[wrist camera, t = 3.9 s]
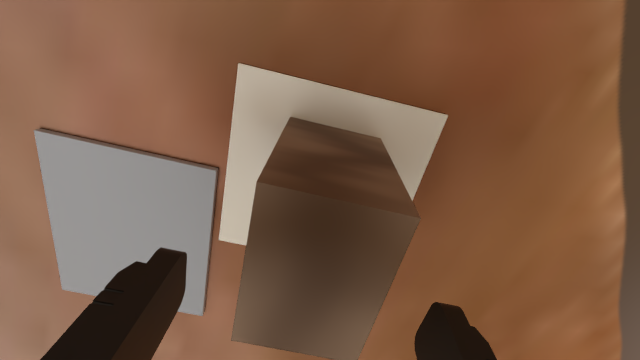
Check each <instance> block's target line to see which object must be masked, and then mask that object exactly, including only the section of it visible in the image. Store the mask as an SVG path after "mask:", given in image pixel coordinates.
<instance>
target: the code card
mask: <svg viewBox="0 0 640 360" xmlns="http://www.w3.org/2000/svg"><path fill="white" fill-rule="evenodd" d="M290 117H294V118H298V119H302V120H306V121H311V122H315V123H319V124H323V125H327V126H331V127H336V128H340V129H344V130H348V131H352V132H356V133H361V134H365V135H369V136H373V137H377V138H381V140H382V142H383V144H384V146H385V148H386V150H387V152H388V154H389V156H390V158H391V160H392V162H393V164H394V166H395V168H396V170H397V172H398V174H399V176H400V178H401V180H402V182H403V184H404V186H405V188H406V190H407V192H408V194H409V196H410V198H411V200H413V198H414V196H415V193H416V191H417V188H418V186H419V184H420V181H421V179H422V177H423V174H424V172H425V169H426V167H427V165H428V162H429V160H430V158H431V155H432V153H433V150H434V148H435V146H436V143H437V141H438V139H439V136H440V134H441V131H442V129H443V127H444V124H445V122H446V120H447V117H448V115H446V114H442V113H438V112H434V111H430V110H426V109H422V108H418V107H414V106H410V105H406V104H402V103H398V102H394V101H390V100H386V99H382V98H378V97H374V96H370V95H366V94H362V93H358V92H354V91H350V90H346V89H342V88H338V87H334V86H330V85H326V84H322V83H318V82H314V81H310V80H306V79H302V78H298V77H294V76H290V75H286V74H282V73H278V72H274V71H270V70H266V69H262V68H258V67H254V66H250V65H246V64H242V63H238V71H237V80H236V89H235V98H234V107H233V116H232V125H231V134H230V143H229V152H228V161H227V170H226V179H225V188H224V197H223V206H222V215H221V224H220V233H219V240H222V241H226V242H231V243H236V244H241V245H246V244H247V238H248V232H249V225H250V219H251V213H252V207H253V200H254V194H255V188H256V182H257V180H258V178H259V176H260V174H261V172H262V170H263V168H264V166H265V164H266V162H267V160H268V158H269V157H270V155H271V153H272V151H273V149H274V147H275V145H276V143H277V141H278V139H279V137H280V135H281V133H282V131H283V129H284V127H285V126H286V124H287V122H288V120H289V118H290Z"/></svg>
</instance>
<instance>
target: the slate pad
mask: <svg viewBox="0 0 640 360" xmlns="http://www.w3.org/2000/svg"><path fill="white" fill-rule="evenodd" d="M34 133H35V139H36V145H37V150H38V156H39V161H40V167H41V173H42V178H43V184H44V189H45V195H46V201H47V206H48V212H49V217H50V223H51V229H52V234H53V240H54V245H55V251H56V257H57V262H58V268H59V273H60V279H61V285H62V290H67V291H73V292H78V293H83V294H88V295H94V296H97V295H98V294H99V293H100V292H101V291H103V290H104V287H105V286H106V285H107V284H108V283H109V282H110V281H111V279H112V278H113V277H114V276H115V275H116V274H117V273H118V272H119V271H121V270H123V269H124V268H126V267H127V266H129V265H131V264H132V263H134V262H136V261H138V262H143V263H147V262H148V261H149V259H150V258H151V257H152V256H153V254H154V253H155V252H156V251H157V250H158V249H159V248H161V247H162V248H167V249H172V250H177V251H182V252H186V253H187V268H186V288H185V293H184V297H183V300H182V303H181V305H180V307H179V309H178V312H183V313H189V314H194V315H199V316H203V314H204V312H205V302H206V292H207V282H208V272H209V261H210V251H211V241H212V231H213V221H214V210H215V200H216V190H217V180H218V170H219V168H215V167H211V166H207V165H202V164H198V163H193V162H189V161H184V160H180V159H175V158H171V157H166V156H162V155H157V154H153V153H148V152H144V151H140V150H135V149H131V148H126V147H122V146H117V145H113V144H108V143H104V142H99V141H95V140H90V139H86V138H81V137H77V136H73V135H68V134H64V133H59V132H55V131H50V130H46V129H41V128H40V129H36V130H34Z"/></svg>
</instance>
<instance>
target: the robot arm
mask: <svg viewBox="0 0 640 360" xmlns="http://www.w3.org/2000/svg"><path fill="white" fill-rule="evenodd" d="M186 268H187V253H186V252H182V251H177V250H172V249H167V248H162V247H161V248H159V249H158V250H157V251H156V252H155V253H154V254H153V256H152V257H151V258H150V259H149V261H148V262H147V263H143V262H138V261H136V262H134V263H132V264H131V265H129V266H127V267H126V268H124V269H123V270H121V271H119V272H118V273H117V274H116V275H115V276H114V277H113V278H112V279H111V281H110V282H109V283H108V284H107V285H106V286H105V287H104V290H103V291H101V292H100V293H99V294H98V295H97V296H96V298H95V299H94V300H93V302H92V304H89V305H88V307H87V308H86V309H85V310H84V311H83V312H82V313H81V315H80V316H79V317H78V318H77V319H76V320H75V321H74V322H73V324H72V325H71V326H70V327H69V328H68V329H67V330H66V331H65V333H64V334H63V335H62V336H61V337H60V338H59V339H58V341H57V342H56V343H55V344H54V345H53V346H52V347H51V348H50V350H49V351H48V352H47V353H46V354H45V355H44V356H43V357H42V358H41V359H40V360H151V359H152V357H153V355H154V353H155V352H156V350H157V348H158V346H159V344H160V342H161V341H162V339H163V337H164V335H165V333H166V331H167V330H168V328H169V326H170V324H171V322H172V320H173V319H174V317H175V315H176V313H177V311H178V309H179V307H180V305H181V303H182V300H183V297H184V293H185V288H186ZM415 352H416V356H417V360H497V359H496V357H495V355H494V353H493V351H492V349H491V347H490V345H489V343H488V342H487V341H486V340H485V339H484V337H483V336H482V335H481V334H480V333H479V332H478V330H477V329H476V328H475V327H473V326H470V325H469V323H468V320H467V318H466V316H465V314H464V312H463V310H462V309H461V308H460V307H458V306H454V305H448V304H443V303H438V302H435V303H433V304H432V305H431V307H430V309H429V311H428V312H427V314H426V316H425V318H424V320H423V321H422V323H421V325H420V327H419V329H418V331H417V333H416V336H415Z"/></svg>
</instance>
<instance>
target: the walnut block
mask: <svg viewBox="0 0 640 360" xmlns="http://www.w3.org/2000/svg"><path fill="white" fill-rule="evenodd" d="M420 219H421V218H420V216H419V214H418V212H417V210H416V208H415V206H414V204H413V202H412V200H411V198H410V196H409V194H408V192H407V190H406V188H405V186H404V184H403V182H402V180H401V178H400V176H399V174H398V172H397V170H396V168H395V166H394V164H393V162H392V160H391V158H390V156H389V154H388V152H387V150H386V148H385V146H384V144H383V142H382V140H381V138H377V137H373V136H369V135H365V134H361V133H356V132H352V131H348V130H344V129H340V128H336V127H331V126H327V125H323V124H319V123H315V122H311V121H306V120H302V119H298V118H294V117H290V118H289V120H288V122H287V124H286V126H285V127H284V129H283V131H282V133H281V135H280V137H279V139H278V141H277V143H276V145H275V147H274V149H273V151H272V153H271V155H270V157H269V158H268V160H267V162H266V164H265V166H264V168H263V170H262V172H261V174H260V176H259V178H258V180H257V182H256V188H255V194H254V200H253V207H252V213H251V219H250V225H249V232H248V238H247V244H246V250H245V257H244V263H243V269H242V275H241V282H240V288H239V294H238V300H237V307H236V313H235V319H234V325H233V331H232V338H231V340H232V341H237V342H243V343H248V344H253V345H259V346H264V347H270V348H275V349H280V350H286V351H291V352H297V353H302V354H307V355H313V356H318V357H324V358H329V359H334V360H358V358H359V356H360V353H361V351H362V349H363V347H364V344H365V342H366V340H367V338H368V335H369V333H370V331H371V329H372V326H373V324H374V322H375V320H376V318H377V315H378V313H379V311H380V309H381V306H382V304H383V302H384V300H385V297H386V295H387V293H388V291H389V288H390V286H391V284H392V282H393V280H394V277H395V275H396V273H397V271H398V268H399V266H400V264H401V262H402V259H403V257H404V255H405V253H406V250H407V248H408V246H409V244H410V242H411V239H412V237H413V235H414V233H415V230H416V228H417V226H418V224H419V221H420Z"/></svg>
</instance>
